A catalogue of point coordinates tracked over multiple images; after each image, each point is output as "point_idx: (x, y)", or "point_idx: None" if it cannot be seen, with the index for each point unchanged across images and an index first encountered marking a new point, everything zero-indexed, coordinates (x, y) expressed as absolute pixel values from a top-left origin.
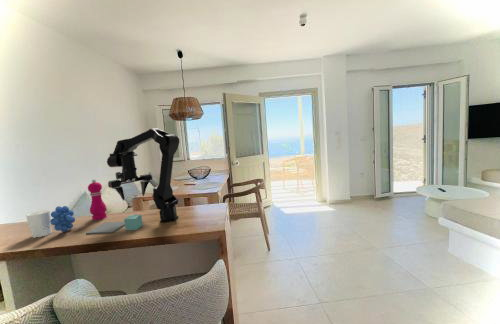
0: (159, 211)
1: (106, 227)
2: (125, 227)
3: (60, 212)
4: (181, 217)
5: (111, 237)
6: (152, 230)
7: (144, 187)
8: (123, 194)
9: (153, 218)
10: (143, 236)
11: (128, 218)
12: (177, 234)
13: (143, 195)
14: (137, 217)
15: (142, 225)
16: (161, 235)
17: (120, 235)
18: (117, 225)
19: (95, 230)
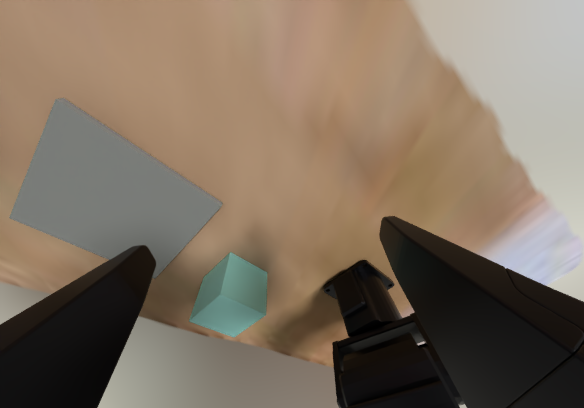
0: (341, 313)
1: (108, 214)
2: (201, 286)
3: None
4: (393, 288)
5: (158, 302)
6: (278, 321)
7: (461, 385)
8: (110, 370)
9: (328, 231)
10: (247, 337)
11: (207, 324)
12: (311, 359)
13: (382, 242)
14: (244, 329)
15: (265, 273)
16: (283, 350)
17: (186, 304)
18: (164, 225)
19: (55, 217)
